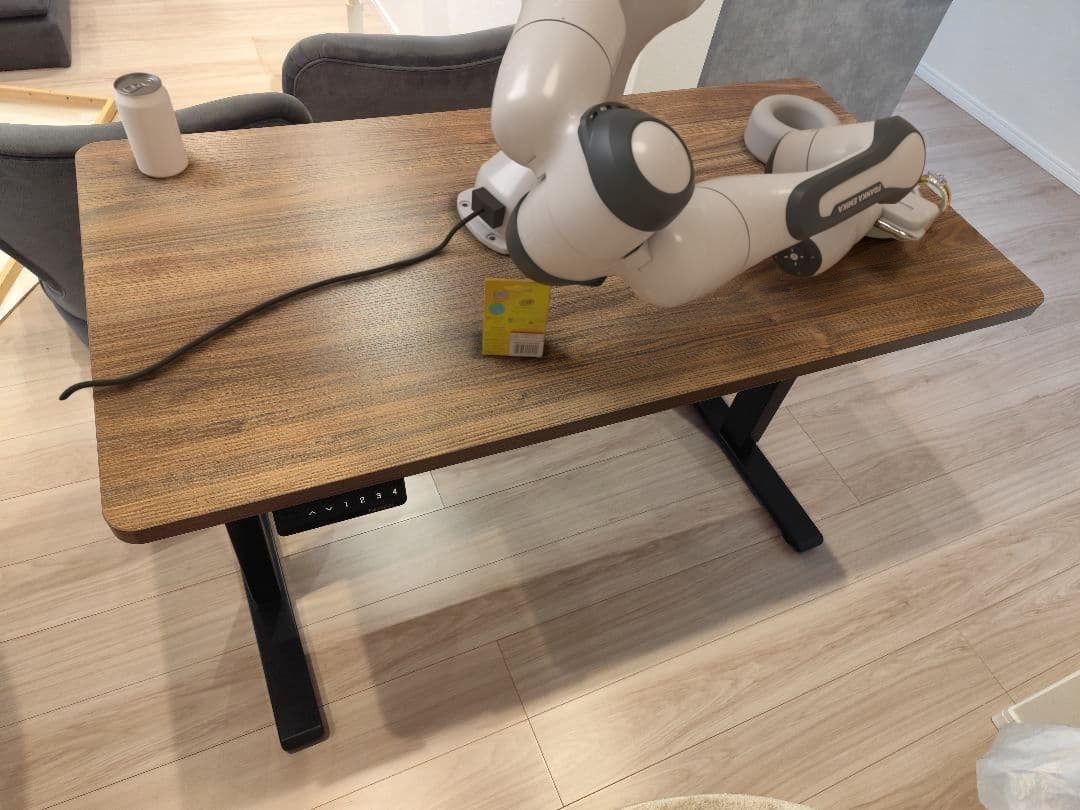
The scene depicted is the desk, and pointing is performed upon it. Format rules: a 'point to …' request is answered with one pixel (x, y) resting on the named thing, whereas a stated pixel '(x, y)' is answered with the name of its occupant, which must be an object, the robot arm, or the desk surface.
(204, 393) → the desk surface
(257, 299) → the desk surface
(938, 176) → the ring
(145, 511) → the desk surface
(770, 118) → the donut shape
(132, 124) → the can
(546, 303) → the crayon box
